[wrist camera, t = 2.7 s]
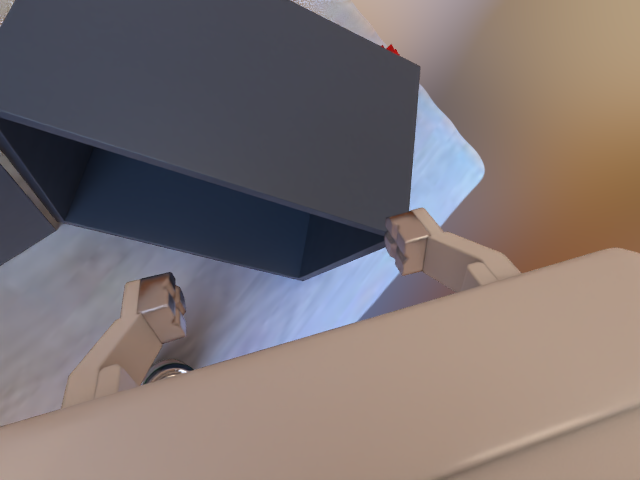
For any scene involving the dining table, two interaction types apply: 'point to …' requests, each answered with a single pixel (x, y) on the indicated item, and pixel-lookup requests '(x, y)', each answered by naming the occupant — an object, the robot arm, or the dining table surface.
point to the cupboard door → (18, 219)
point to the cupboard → (210, 127)
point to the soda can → (165, 370)
